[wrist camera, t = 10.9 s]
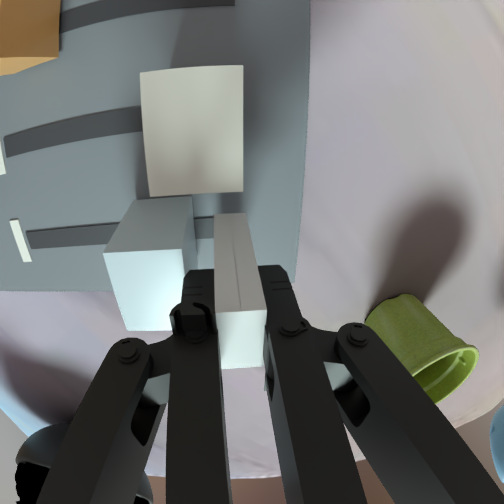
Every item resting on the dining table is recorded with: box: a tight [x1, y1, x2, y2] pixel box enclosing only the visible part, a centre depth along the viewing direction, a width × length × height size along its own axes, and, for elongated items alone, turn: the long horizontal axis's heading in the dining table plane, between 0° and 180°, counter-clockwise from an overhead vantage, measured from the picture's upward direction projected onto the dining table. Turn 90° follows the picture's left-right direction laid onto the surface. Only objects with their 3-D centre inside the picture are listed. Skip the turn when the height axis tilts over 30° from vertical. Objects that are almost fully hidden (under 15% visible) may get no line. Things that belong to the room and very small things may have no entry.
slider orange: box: [0, 0, 61, 76], centre depth 7 cm, size 3×4×5 cm
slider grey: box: [103, 196, 198, 331], centre depth 14 cm, size 3×4×5 cm
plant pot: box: [365, 294, 479, 405], centre depth 23 cm, size 9×9×9 cm
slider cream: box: [140, 65, 243, 197], centre depth 11 cm, size 3×4×5 cm
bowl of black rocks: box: [15, 424, 153, 504], centre depth 27 cm, size 20×20×19 cm
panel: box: [0, 0, 310, 291], centre depth 14 cm, size 24×19×4 cm
